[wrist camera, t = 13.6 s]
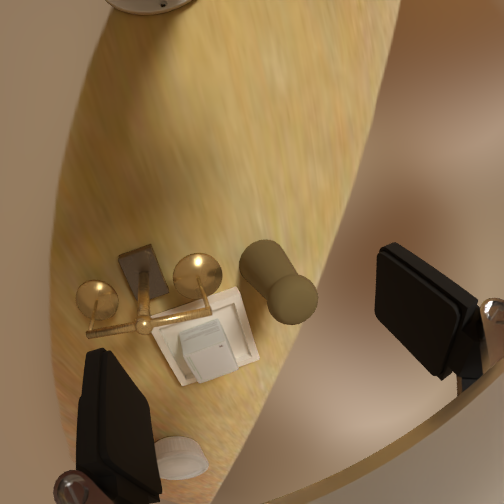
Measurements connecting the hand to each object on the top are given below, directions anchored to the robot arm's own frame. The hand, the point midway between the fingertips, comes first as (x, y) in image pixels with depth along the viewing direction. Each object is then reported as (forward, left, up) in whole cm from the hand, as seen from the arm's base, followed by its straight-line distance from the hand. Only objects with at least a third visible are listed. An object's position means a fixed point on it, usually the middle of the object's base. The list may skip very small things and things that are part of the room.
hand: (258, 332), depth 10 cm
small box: (+20, -4, -25) cm, 32 cm away
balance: (+8, -7, -26) cm, 28 cm away
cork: (+12, +7, -26) cm, 30 cm away
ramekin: (+45, -18, -26) cm, 55 cm away
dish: (+20, -3, -26) cm, 33 cm away
